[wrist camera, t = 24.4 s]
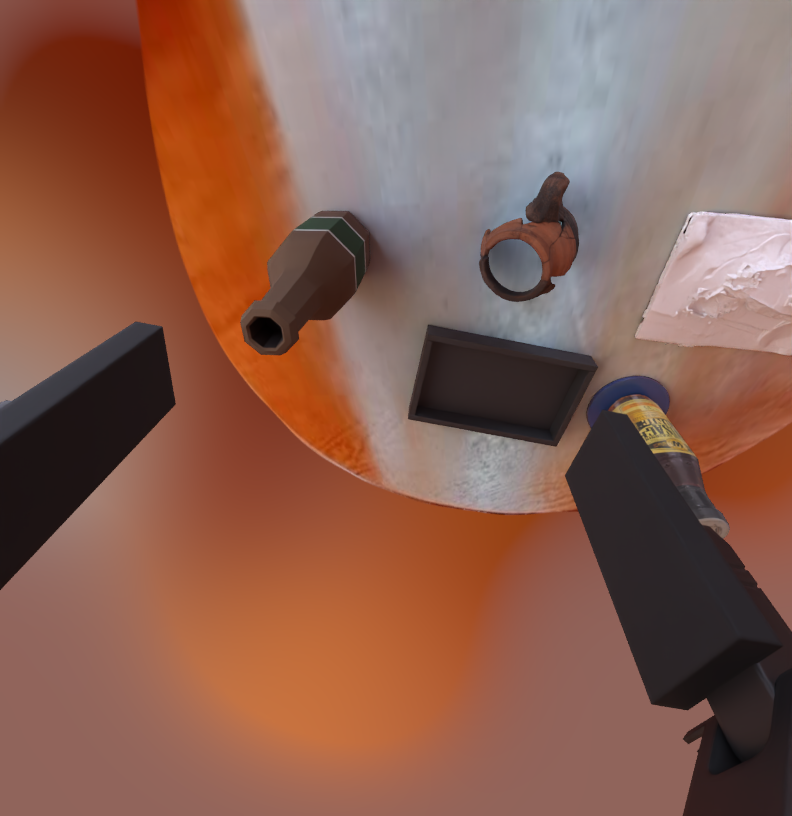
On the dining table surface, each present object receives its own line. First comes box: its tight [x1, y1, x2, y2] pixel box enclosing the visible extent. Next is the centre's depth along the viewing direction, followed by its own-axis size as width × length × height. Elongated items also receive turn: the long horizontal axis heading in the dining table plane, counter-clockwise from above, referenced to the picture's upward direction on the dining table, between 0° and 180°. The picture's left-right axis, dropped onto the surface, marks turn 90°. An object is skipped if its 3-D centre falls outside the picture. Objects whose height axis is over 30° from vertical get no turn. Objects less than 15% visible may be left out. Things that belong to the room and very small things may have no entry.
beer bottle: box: [240, 211, 370, 355], centre depth 35 cm, size 8×8×24 cm
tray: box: [408, 325, 598, 446], centre depth 53 cm, size 13×21×3 cm, turn 80°
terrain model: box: [635, 211, 792, 359], centre depth 43 cm, size 17×23×5 cm
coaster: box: [587, 376, 670, 429], centre depth 54 cm, size 10×10×1 cm
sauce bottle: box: [608, 394, 730, 538], centre depth 46 cm, size 6×6×20 cm
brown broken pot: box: [479, 172, 579, 302], centre depth 41 cm, size 12×10×8 cm
